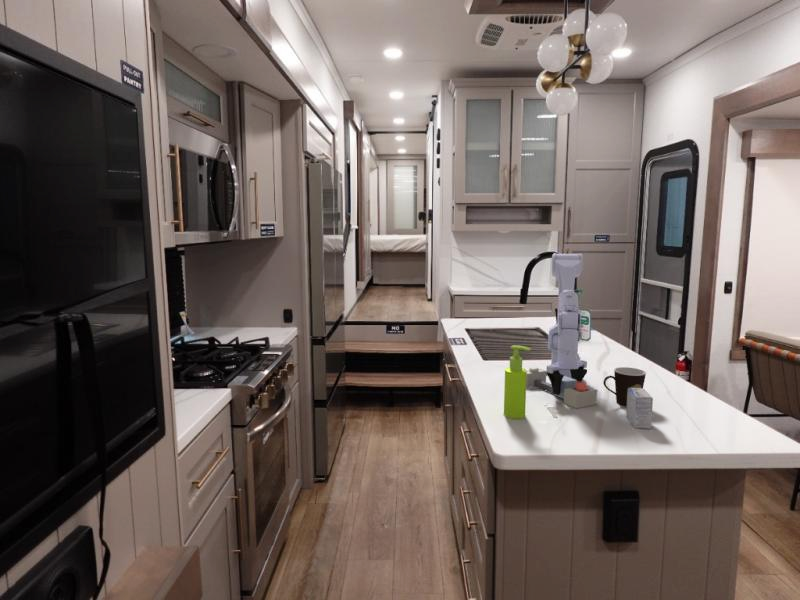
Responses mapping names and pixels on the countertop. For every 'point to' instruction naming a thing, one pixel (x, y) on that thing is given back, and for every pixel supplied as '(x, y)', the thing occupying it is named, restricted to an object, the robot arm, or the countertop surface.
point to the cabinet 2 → (580, 397)
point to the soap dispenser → (515, 386)
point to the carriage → (566, 385)
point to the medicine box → (639, 408)
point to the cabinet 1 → (535, 376)
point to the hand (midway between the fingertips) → (565, 392)
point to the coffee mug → (626, 382)
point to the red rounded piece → (580, 386)
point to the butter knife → (552, 411)
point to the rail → (543, 385)
